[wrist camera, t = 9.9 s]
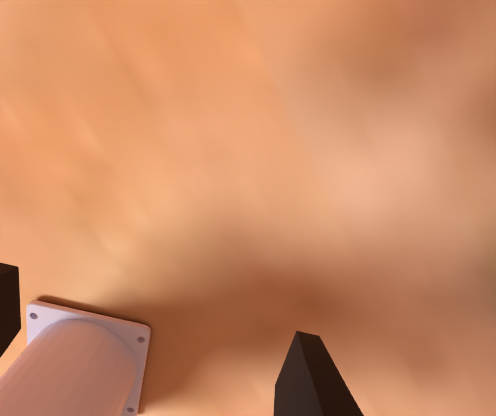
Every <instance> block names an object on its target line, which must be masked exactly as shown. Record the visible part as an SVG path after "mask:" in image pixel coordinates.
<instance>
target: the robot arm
mask: <svg viewBox="0 0 496 416" xmlns="http://www.w3.org/2000/svg"><path fill="white" fill-rule="evenodd" d="M26 313H27V347H26V348H25V350H24V351H23V352H22V353H21V354H20V355H19V357H18V358H17V359H16V360H15V361H14V362H13V364H12V365H11V366H10V367H9V368H8V369H7V371H6V372H5V373H4V374H3V375H2V377H1V378H0V416H137V413H138V407H139V401H140V395H141V389H142V383H143V377H144V371H145V365H146V359H147V353H148V347H149V341H150V335H151V329H150V328H149V327H148V326H147V325H144V324H140V323H135V322H131V321H126V320H122V319H117V318H113V317H108V316H104V315H100V314H95V313H91V312H86V311H82V310H77V309H73V308H68V307H64V306H59V305H55V304H50V303H46V302H41V301H37V300H33V301H31V302H30V303H29V304H28V305H27V307H26ZM36 314H37V315H36ZM20 329H21V317H20V293H19V269H18V267H17V266H12V265H8V264H3V263H0V357H1V356H2V355H3V353H4V352H5V351H6V349H7V348H8V346H9V345H10V343H11V342H12V341H13V339H14V338H15V336H16V335H17V333H18V332H19V331H20ZM140 337H143V338H140ZM274 416H364V415H363V414H362V412H361V410H360V408H359V407H358V405H357V403H356V402H355V400H354V398H353V396H352V395H351V393H350V391H349V389H348V388H347V386H346V384H345V382H344V380H343V379H342V377H341V375H340V373H339V371H338V369H337V368H336V366H335V364H334V362H333V360H332V358H331V356H330V355H329V353H328V351H327V349H326V347H325V345H324V344H323V342H322V340H321V338H320V337H319V336H317V335H313V334H308V333H304V332H300V331H296V333H295V336H294V339H293V341H292V344H291V346H290V349H289V351H288V354H287V356H286V359H285V361H284V364H283V366H282V369H281V372H280V374H279V377H278V379H277V382H276V384H275V399H274Z"/></svg>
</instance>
